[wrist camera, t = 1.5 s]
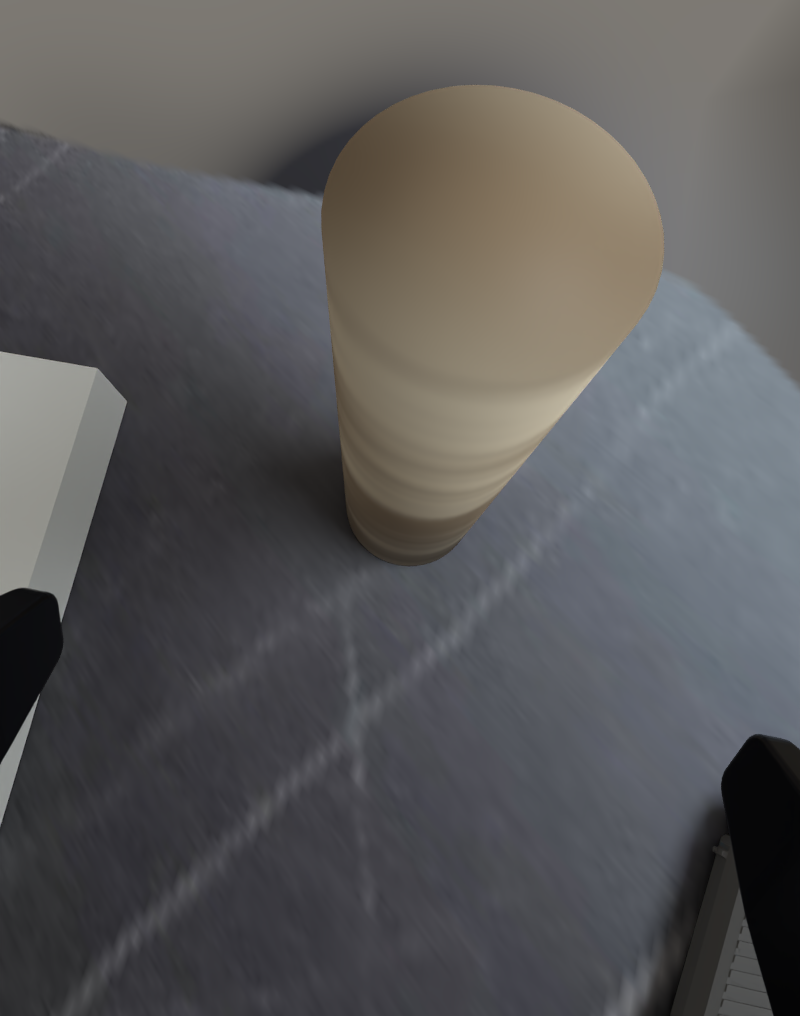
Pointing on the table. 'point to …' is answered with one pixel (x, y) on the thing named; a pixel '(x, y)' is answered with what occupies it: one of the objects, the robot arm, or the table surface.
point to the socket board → (49, 482)
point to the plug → (472, 298)
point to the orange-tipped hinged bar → (721, 952)
